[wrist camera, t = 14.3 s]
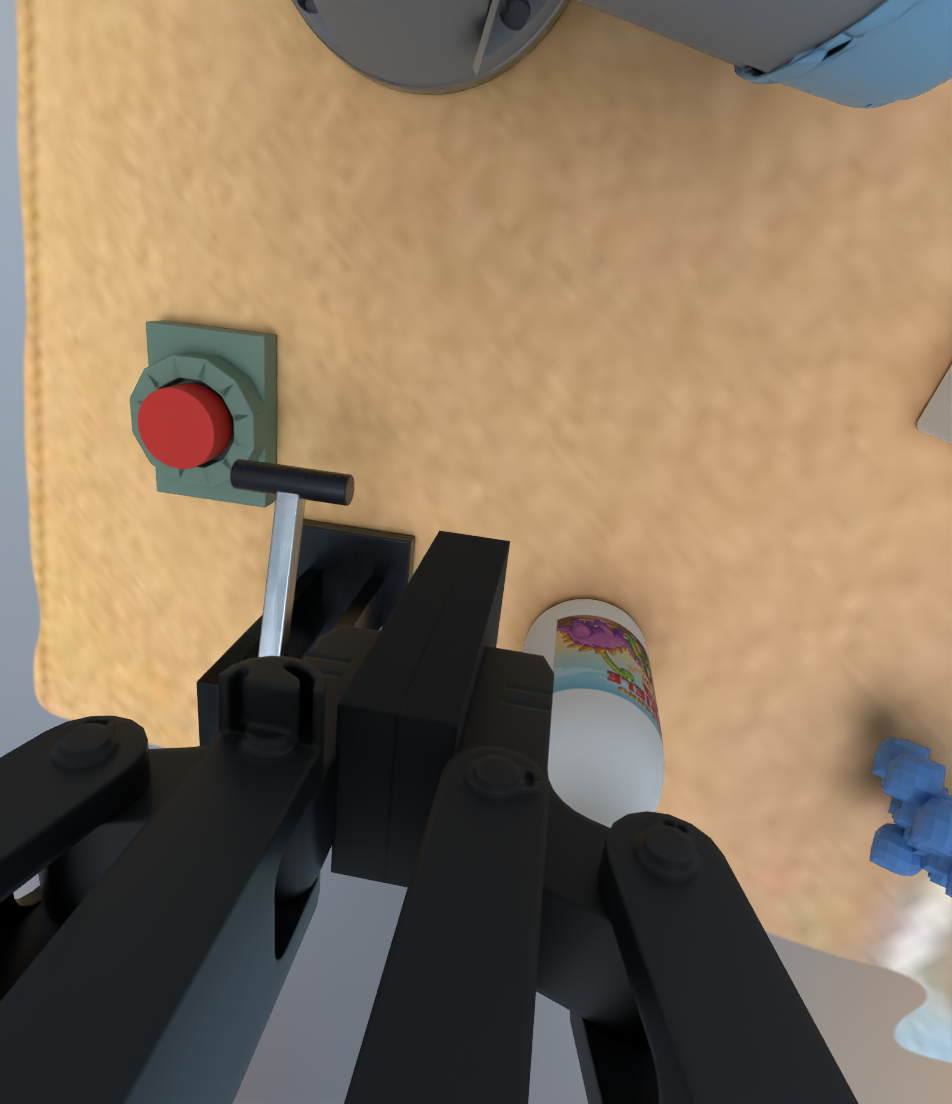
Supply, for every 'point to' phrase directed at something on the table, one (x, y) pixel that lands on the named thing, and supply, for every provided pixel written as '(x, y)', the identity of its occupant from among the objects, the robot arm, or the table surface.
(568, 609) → the milk bottle
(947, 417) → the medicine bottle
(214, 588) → the table surface
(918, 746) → the grapes
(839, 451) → the table surface
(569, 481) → the table surface
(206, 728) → the bracket
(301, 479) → the lever
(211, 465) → the button box
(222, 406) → the button
